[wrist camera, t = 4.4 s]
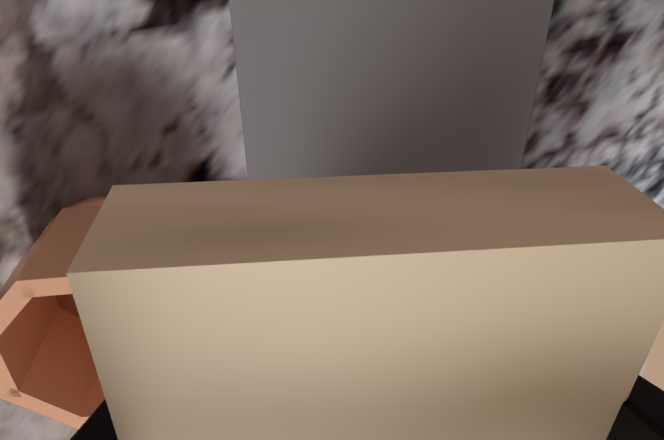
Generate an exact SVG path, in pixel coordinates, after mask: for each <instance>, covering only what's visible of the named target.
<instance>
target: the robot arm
mask: <svg viewBox="0 0 664 440" xmlns="http://www.w3.org/2000/svg"><path fill="white" fill-rule="evenodd" d="M70 440H118V438H117V435H116V431H115V428H114V425H113V422H112V419H111V415H110V412H109V409H108V406H107V403H106V399H104V400H103V401H102V403H101V404H100V405H99V406H98V407H97V408H96V410H95V411H94V412H93V413H92V414H91V415H90V417H89V418H88V419H87V420H86V421H85V422H84V424H83V425H82V426H81V427H80V428H79V429H78V431H77V432H76V433H75V434H74V435H73V437H72V438H71V439H70ZM606 440H664V391H663V390H661V389H660V388H658V387H657V386H655V385H653V384H652V383H650V382H649V381H647V380H646V379H644V378H643V377H641V376H639V375H638V377H637V379H636V381H635V383H634V386H633V388H632V390H631V392H630V394H629V397H628V399H627V400H626V401H624V402H623V403H622V405H621V408H620V410H619V412H618V414H617V416H616V419H615V421H614V423H613V425H612V427H611V430H610V432H609V434H608V436H607V438H606Z"/></svg>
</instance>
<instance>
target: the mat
mask: <svg viewBox="0 0 664 440" xmlns="http://www.w3.org/2000/svg"><path fill="white" fill-rule="evenodd" d="M229 4H230V13H231V23H232V32H233V41H234V50H235V60H236V69H237V78H238V87H239V97H240V106H241V115H242V124H243V134H244V143H245V152H246V161H247V171H248V180H257V179H282V178H308V177H333V176H358V175H384V174H409V173H434V172H460V171H485V170H510V169H521V164H522V159H523V154H524V149H525V144H526V139H527V134H528V129H529V124H530V119H531V114H532V109H533V104H534V99H535V94H536V89H537V84H538V79H539V74H540V69H541V64H542V59H543V54H544V49H545V44H546V39H547V34H548V29H549V24H550V19H551V14H552V9H553V4H554V0H229Z"/></svg>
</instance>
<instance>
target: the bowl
mask: <svg viewBox="0 0 664 440" xmlns="http://www.w3.org/2000/svg"><path fill="white" fill-rule="evenodd" d="M106 197H107V195H104V196H96V197H92V198H88V199H84V200H82V201H79V202H76V203H74V204H72V205H70V206H68V207H67V208H62V209H61V211H60V212H59V213H58V214H57V215H56V216H55V217H54V218H53V219H52V220H51V221H50V222H49V223H48V225H47V226H46V228H45V229H44V231H43V232H42V234H41V235H40V237H39V238H38V239H37V240H36V242H35V243H34V244H33V245H32V246H31V248H30V249H29V250H28V251H27V253H26V254H25V255H24V256H23V257H22V259H21V260H20V262H19V263H18V265H17V266H16V268H15V269H14V271H13V272H12V274H11V275H10V277H9V279H8V280H7V282H6V283H5V285H4V286H3V288H2V289H1V291H0V397H1V399H4V400H6V401H9V402H11V403H14V404H16V405H19V406H21V407H24V408H26V409H29V410H31V411H34V412H36V413H39V414H41V415H44V416H46V417H49V418H51V419H54V420H56V421H59V422H61V423H64V424H66V425H69V426H71V427H74V428H76V429H79V428H80V427H81V426H82V425H83V424H84V422H85V421H86V420H87V419H88V418H89V417H90V415H91V414H92V413H93V412H94V411H95V410H96V408H97V407H98V406H99V405H100V404H101V403H102V401H103V400H104V399H105V396H104V393H103V390H102V387H101V383H100V380H99V377H98V374H97V371H96V367H95V364H94V361H93V358H92V355H91V351H90V348H89V345H88V342H87V339H86V335H85V332H84V329H83V326H82V323H81V319H80V316H79V313H78V310H77V307H76V303H75V300H74V297H73V294H72V291H71V287H70V284H69V281H68V278H67V274H66V273H67V271H68V269H69V267H70V265H71V263H72V261H73V259H74V257H75V256H76V254H77V252H78V250H79V248H80V246H81V244H82V242H83V241H84V239H85V237H86V235H87V233H88V231H89V229H90V227H91V225H92V224H93V222H94V220H95V218H96V216H97V214H98V212H99V210H100V208H101V207H102V205H103V203H104V201H105V199H106Z"/></svg>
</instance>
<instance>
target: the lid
mask: <svg viewBox="0 0 664 440" xmlns="http://www.w3.org/2000/svg"><path fill="white" fill-rule="evenodd" d="M66 274H67V278H68V281H69V284H70V287H71V291H72V294H73V297H74V300H75V303H76V307H77V310H78V313H79V316H80V319H81V323H82V326H83V329H84V332H85V335H86V339H87V342H88V345H89V348H90V351H91V355H92V358H93V361H94V364H95V367H96V371H97V374H98V377H99V380H100V383H101V387H102V390H103V393H104V396H105V399H106V403H107V406H108V409H109V412H110V415H111V419H112V422H113V425H114V428H115V431H116V435H117V438H118V440H606V438H607V436H608V434H609V432H610V430H611V427H612V425H613V423H614V421H615V419H616V416H617V414H618V412H619V410H620V408H621V405H622V403H623V402H624V401H626V400H627V399H628V397H629V394H630V392H631V390H632V388H633V386H634V383H635V381H636V379H637V377H638V375H639V373H640V370H641V368H642V366H643V364H644V362H645V359H646V357H647V355H648V353H649V351H650V349H651V346H652V344H653V342H654V340H655V338H656V335H657V333H658V331H659V329H660V327H661V325H662V322H663V320H664V209H663V208H662V207H660V206H659V205H658V204H656V203H655V202H654V201H652V200H651V199H650V198H648V197H647V196H646V195H644V194H643V193H642V192H640V191H639V190H638V189H636V188H635V187H634V186H632V185H631V184H630V183H628V182H627V181H626V180H624V179H623V178H622V177H620V176H619V175H618V174H616V173H615V172H613V171H612V170H611V169H609V168H608V167H607V166H587V167H561V168H536V169H510V170H485V171H460V172H434V173H409V174H384V175H358V176H333V177H308V178H282V179H257V180H231V181H206V182H181V183H155V184H130V185H113V186H112V188H111V190H110V191H109V193H108V195H107V197H106V199H105V201H104V203H103V205H102V207H101V208H100V210H99V212H98V214H97V216H96V218H95V220H94V222H93V224H92V225H91V227H90V229H89V231H88V233H87V235H86V237H85V239H84V241H83V242H82V244H81V246H80V248H79V250H78V252H77V254H76V256H75V257H74V259H73V261H72V263H71V265H70V267H69V269H68V271H67V273H66Z"/></svg>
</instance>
